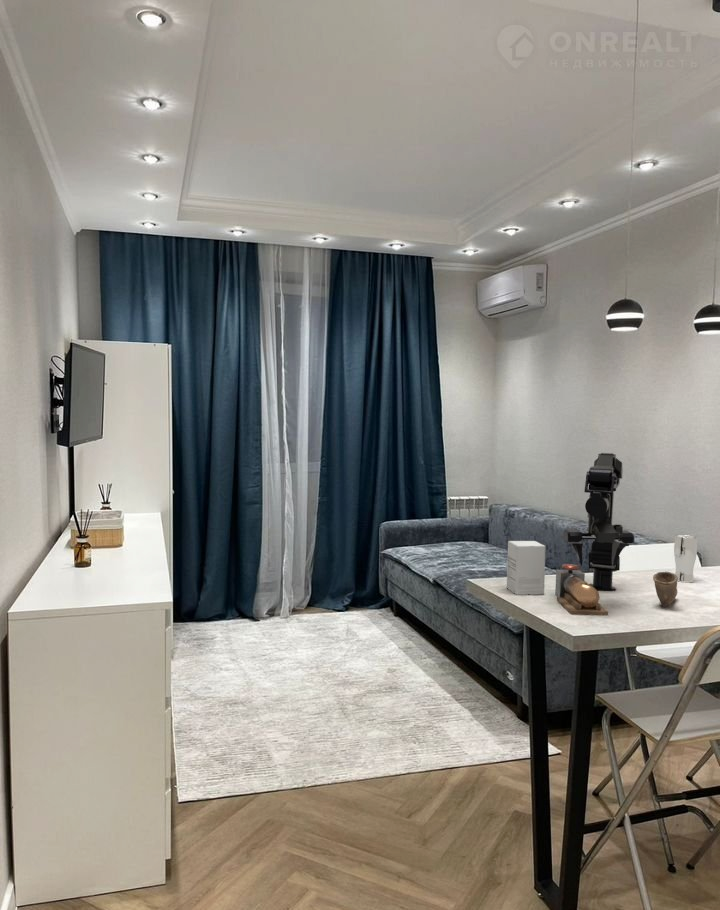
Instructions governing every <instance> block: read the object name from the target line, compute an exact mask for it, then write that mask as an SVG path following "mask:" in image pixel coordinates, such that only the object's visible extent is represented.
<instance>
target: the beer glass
mask: <svg viewBox="0 0 720 910" xmlns="http://www.w3.org/2000/svg"><path fill="white" fill-rule="evenodd" d="M697 553H698V537H697V536H694V535H688V534H675V536H674V546H673V557H674V563H675V572H674V574H675V575H677V577H678V581H677V583H678V582H679V583H684V582H685V584H686V583H687V584H690V582H692V583H694V582H695V579H694V568H695V563H696V560H697V559H696V558H697Z"/></svg>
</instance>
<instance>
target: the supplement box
mask: <svg viewBox="0 0 720 910" xmlns="http://www.w3.org/2000/svg"><path fill="white" fill-rule="evenodd" d="M507 541H508V542H507V562H506V563H507V565H506V567H507V568H506V588H508V589H507V590H509V591H510V592H512V593H513V594H514V593H515V594H514V595H516V596H523V595H524V596H527V595H528V594H530V595H529V596H531V595H532V596H533V595H534V596H535V595H545V577H546V575H545V573H546V569H545V567H546V545H545V544H542V543H540V542H538V541H536V540H507Z"/></svg>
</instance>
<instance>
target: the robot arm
mask: <svg viewBox="0 0 720 910" xmlns="http://www.w3.org/2000/svg"><path fill="white" fill-rule="evenodd" d="M623 470H624V469H623V462H622V461H621V460H620V459H618V458H617V455H616V454H614V453H613V452H612V453H609V452H608V453H606V452H601V453H598V456H597V458H596V459H595V460H594V463H593V466H591V467H590V468H589V469H588V471H586V475H585V476H586V477H585V483H584V493H588V494H589V495H588V499H587V500H586V501H585V504H584V508H585V511H586V513H587V518H588V523H587V525H588V526H587V527H586V532H582V531H580V530H579V529H577V528H576V529H575V528H570V529H569V528H565V530H563V532H562V539H563V540H564V541H566V542H567V543H569V544H570V545H572V547H573V550H574V553H575V554H576V559H577V561H578V563H579V567H583V562H584V561H583V547H584V546H583V545H584V543H583V542H582V541H583V540H593V542H592V543H591V548H590V549H589V551H588V569H593V573H592V583H588V584H589V585H591V586H592V587H593V588H595V589H596V590H597V591H616V590H617V588H615V587H614V586H613V572H618V571H620V568H621V567H620V566H621V560H620V559H621V557H620V555H621V553H622V551H623V550H624V549H625V548H626V547H629V546H630V544H635V539H636V538H635V534H634V533H633V532H632V531H631V532H630V531H629V530H627V529H625V530H624V529H623V528H624V527H623V525H622V524H613V516H614V515H613V514H614V513H613V511H614V499H615V498H614V497H615V492H616V491H617V488H618V487H619V486H620V482H621V481H620V480H621V479H623Z"/></svg>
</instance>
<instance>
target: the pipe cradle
mask: <svg viewBox="0 0 720 910" xmlns="http://www.w3.org/2000/svg"><path fill="white" fill-rule="evenodd" d="M556 601H557V603H558V604H560V605H561V606H562V607H563V609H565V611H567V612H568V613H569V614H570V615H579V616H583V615H584V616H609V611H608V610H607V609H606V608H604V607H603V605H602V606H601V604H600V603H599V602H598V603H597V604H596V605H595V606H594V607H585V606H583V605H582V604H581V603H580V602H578V601H577V600H576V599H575V598H574V597H573V596H571V595H570V594H569V593H565V596H564V598H558V597H557V596H556Z"/></svg>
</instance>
